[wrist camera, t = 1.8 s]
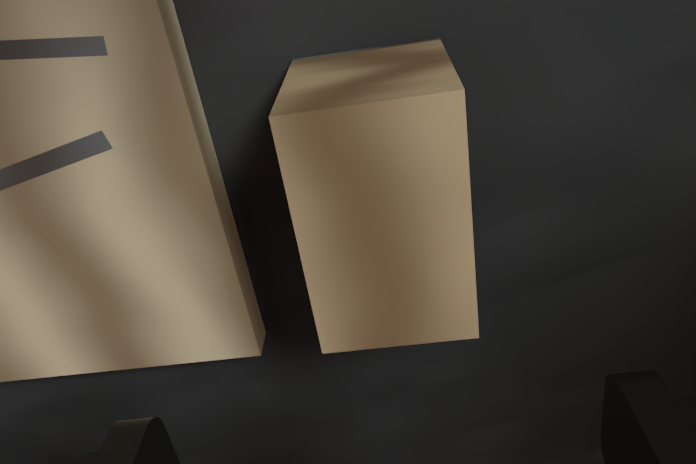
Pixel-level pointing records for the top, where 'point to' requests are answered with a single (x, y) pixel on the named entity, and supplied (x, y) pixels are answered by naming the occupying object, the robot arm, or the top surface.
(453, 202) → the block
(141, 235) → the board
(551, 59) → the top surface
